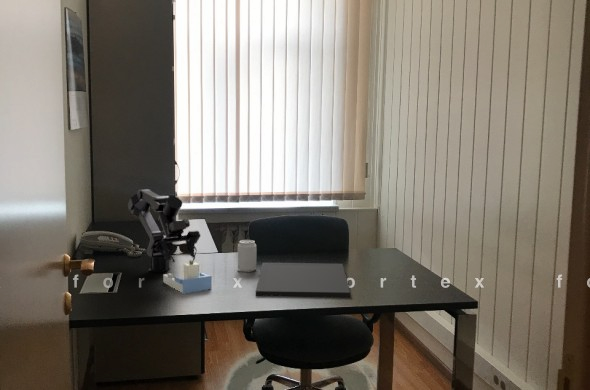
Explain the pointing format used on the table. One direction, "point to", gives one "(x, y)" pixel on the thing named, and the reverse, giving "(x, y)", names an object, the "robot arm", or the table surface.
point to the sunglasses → (181, 249)
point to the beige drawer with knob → (191, 270)
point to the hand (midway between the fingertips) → (181, 258)
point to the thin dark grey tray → (302, 280)
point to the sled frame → (189, 283)
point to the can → (247, 255)
